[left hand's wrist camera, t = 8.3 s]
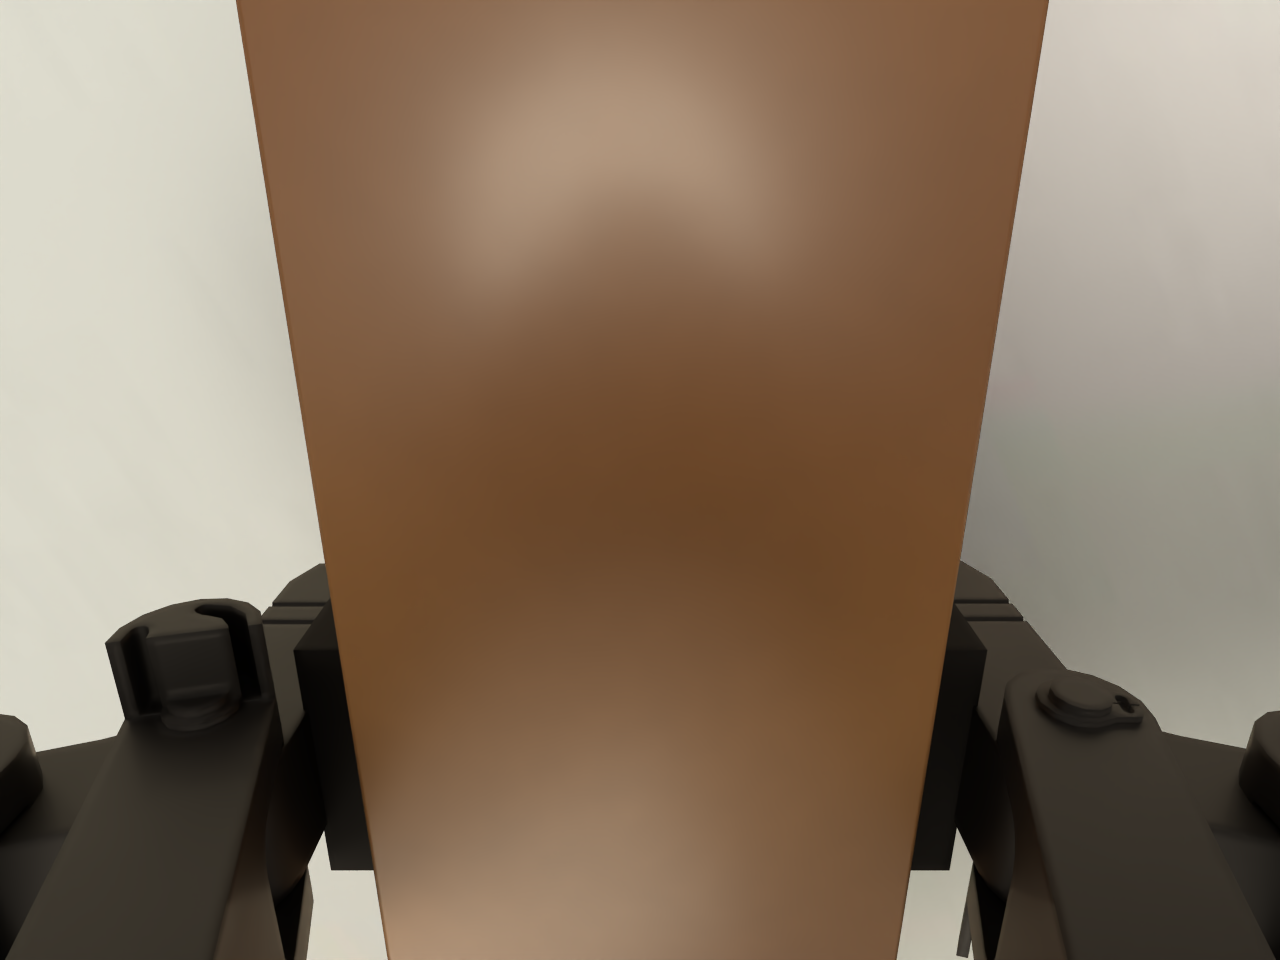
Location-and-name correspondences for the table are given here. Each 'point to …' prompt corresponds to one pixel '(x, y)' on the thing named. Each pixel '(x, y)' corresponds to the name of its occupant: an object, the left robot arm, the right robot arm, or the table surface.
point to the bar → (642, 443)
